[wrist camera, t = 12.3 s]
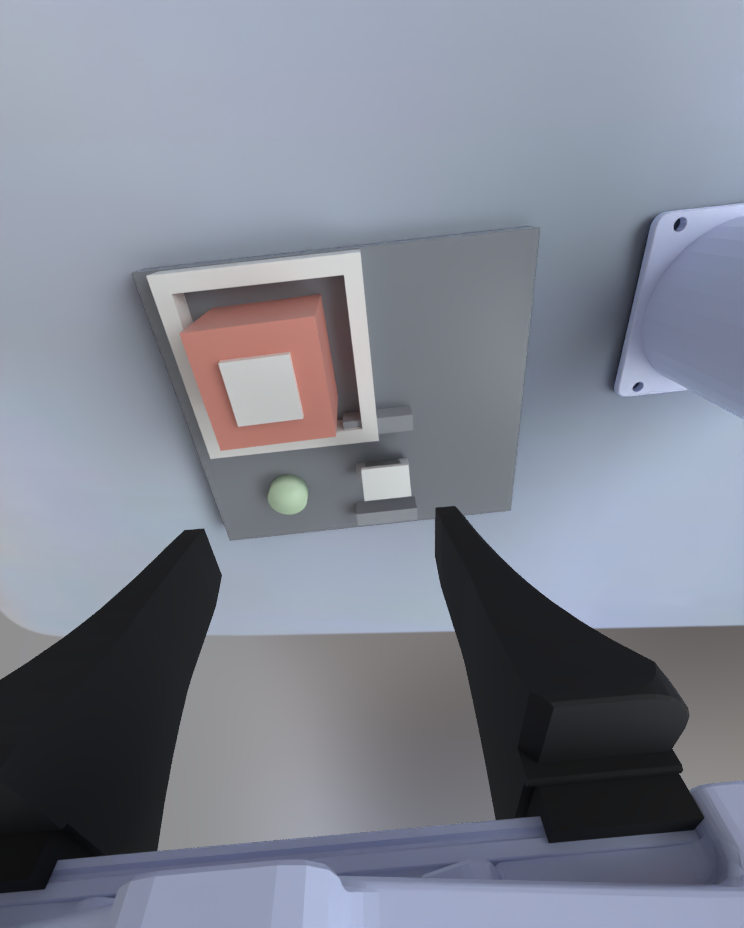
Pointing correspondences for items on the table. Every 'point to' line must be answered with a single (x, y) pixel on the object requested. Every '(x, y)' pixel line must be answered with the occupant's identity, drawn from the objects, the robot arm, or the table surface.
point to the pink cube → (265, 371)
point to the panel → (372, 376)
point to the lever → (384, 479)
